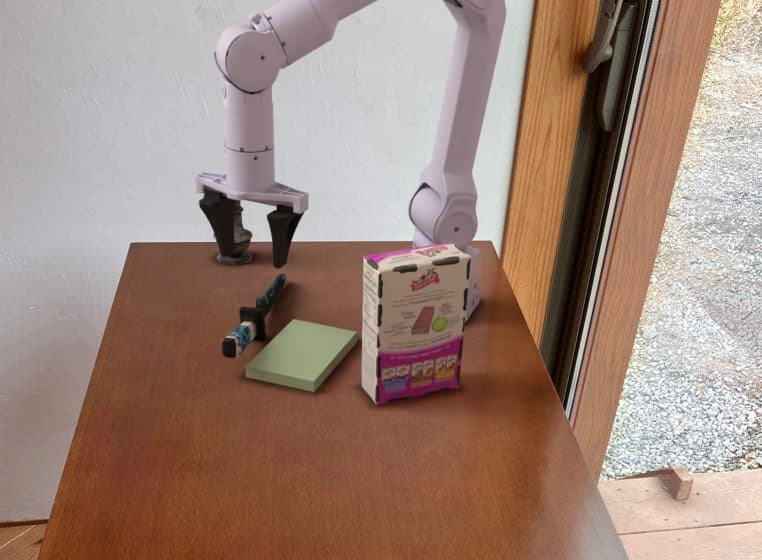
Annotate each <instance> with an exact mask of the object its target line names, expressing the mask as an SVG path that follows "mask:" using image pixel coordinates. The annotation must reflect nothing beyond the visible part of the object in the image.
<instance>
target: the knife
mask: <svg viewBox="0 0 762 560" xmlns="http://www.w3.org/2000/svg"><path fill="white" fill-rule="evenodd" d="M286 280H287V275H286V274H285V273H280V274H278V275H277V276H276V277H275V279H274V280H273V282H272V284H270V286H269V288H268V289H267V290H266V292H265V293H264V294H263V295H262V296H261V297H256V299H255V303H256V305H255V307H252V306H240V307H239V310H238V311H239V312H238V315H239V320H240V324H239V325H238V326H237V327H236V328H234V329H233V330H232V331H231V332H230V333H229V334H228V335H226V336H225V337H224V339H223V341H222V342H221V354H222V356H223V357H224V358H226V359H227V360H235V361H236V360H237V359H239V357H241V355H242V354H243V352H245V350H246V348H247V347H248V346H249V345H250V343H252V341H253V340H254V341H255V340H256V341H265V340H266V339H267V328H266V319H265V318H267V315H268V314H269V312H270V311H271V310H272V308H273V307H274V305H275V303H276V302H277V300H278V298H279V297H280V295H281V292H282V290H283V288H284V287H285V283H286Z"/></svg>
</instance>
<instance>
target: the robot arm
mask: <svg viewBox="0 0 762 560" xmlns="http://www.w3.org/2000/svg"><path fill="white" fill-rule="evenodd" d="M376 2H378V0H281V1H279V2H277V3H276V4H274V5H272V6H271V7H269V8H268V9H266V10H264V11H263V12H261V13H258V12H257V11H253V12H252V13H250V14H249V15H248V16H247V19H248V20H249V25H248V24H246V23H245V24H244V23H243V24H240V23H236V24H233V25H230V26H229V27H227V28H225V29H224V30H223V32H222V33H221V34H220V38H219V39H217V43H216V45H215V46H216V48H215V50H214V51H213V59H214V62H215V65H216V66H217V69H218V70H219V72H220V73H221V74H222V75H223V76H222V77H221V81H222V82H221V84H222V88H221V89H222V91H221V92H222V103H221V107H222V120H223V121H222V123H223V124H222V125H223V143H224V160H225V174H223V173H213V172H206V171H203V172H201V173H199V174H197V175H195V176H194V181H195V193H197V194H203V195H202V197H203V198H201V199H199V200H198V206H199V208H200V210H201V211H202V212H203V214H204V216H205V217H206V220H207V221H208V223H209V225H210V227H211V229H212V231H213V235H214V234H215V237H216V239H215V241H216V240H217V243H218V245H217V247H218V246H219V247H218V249H219V252H220V253H221V255H222V256H225V257H226V256H227V255H229V254H231V253H232V252H234V246H235V237H234V214H235V205H236V200H239V201H240V202H241V201H247V202H251V203H258V204H262V205H266V206H270V207H272V206H273V207H276V209H274V210H272V211H271V212H269V213H267V214H266V220H267V223H268V226H269V231H270V236H271V242H272V245H271V246H272V263H273V268H274V269H277V270H280V269H282V267H284V266H285V265H287V263H288V257H289V253H290V249H291V244H292V241H293V239H294V236H295V233H296V231H297V228H298V226H299V224H300V223H301V220H302V218H303V216H304V215H305V212H306V211H308V210H309V200H310V199H309V196H310V195H309V192H307V191H303V190H299V189H296V188H293V187H291V186H288V185H286V184H283V183H280V182H278V181H276V173H275V171H276V170H275V168H276V167H275V127H274V125H275V123H274V102H273V85H274V83H275V82H276V80H277V78H278V76H279V73H280V70H284V69H287V67H289V66H291V65H292V64H295V63H296V62H297V61H299V60H301V59H303V58H305V56H307V55H309V54H311V53H313V52H314V51H316V50H318V49H319V48H321V47H322V46H324V45H326V44H327V43H329V42H330V41H332V40H333V38H334V36H335V32H336V30H337V27H338V24H339V22H340V21H342V20H344V19H346V18H348V17H350V16H351V15H353V14H355V13H357V12H359V11H361V10H363V9H365V8H367V7H368V6H371V5H373V3H376ZM442 2H443V4H444V5H445V7H446V8H447V10H448V11H449V13H450V15H451V16H452V17H453V19H454V20H455V22H456V28H455V35H454V40H453V45H452V49H451V50H452V51H451V55H450V61H449V65H448V72H447V76H446V80H445V81H446V82H445V87H444V91H443V97H442V103H441V106H440V113H439V118H438V123H437V129H436V132H435V138H434V144H433V149H432V154H431V159H430V162H429V164H428V165H427V166H425V168H423V170H422V171H421V172H420V174H419V180H418V183H417V185H416V187H415V189H414V191H413V192H412V194H411V195H410V197H409V200H408V202H407V203H408V204H407V215H408V219H409V220H410V222H411V223H412V225H413V226H414V234H413V237H412V248H417V247H423V246H430V245H437V244H443V243H449V242H452V243H454V244H456V247H459V248H460V249H462V250H463V251H464V252H466V253H467V254H469V255H470V256H471V263H470V275H469V285H468V296H467V306H466V317H465V323H466V322H467V321H468V320H469V318H470V316H471V315H472V313H473V312H474V311H475V309H476V308H477V306H478V305H479V303H480V290H481V281H482V275H483V274H482V273H483V266H484V252H483V250H481V249H478V248H475V247H473V246H470V244H471V243H472V241H473V240H474V239H475V237H476V235H477V232H478V227H479V226H478V225H479V220H478V216H477V202H478V198H479V195H478V191H477V190H478V189H477V187H476V184H475V180H474V176H473V169H474V166H475V161H476V155H477V151H478V146H479V143H480V139H481V133H482V128H483V124H484V119H485V116H486V115H485V114H486V110H487V105H488V101H489V97H490V93H491V88H492V83H493V79H494V74H495V69H496V66H497V61H498V57H499V52H500V47H501V43H502V38H503V33H504V29H505V24H506V20H507V6H506V1H505V0H442ZM217 243H216V244H217Z"/></svg>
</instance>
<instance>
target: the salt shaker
mask: <svg viewBox="0 0 762 560" xmlns="http://www.w3.org/2000/svg"><path fill="white" fill-rule="evenodd" d="M241 205H242V204H241V200H240V201H239V200H236V205H235V214H234V237H235V246H234V252H232V253H231V254H229V255H227V256H226V257H225V256H222V255H221V252H220V253H219V254H218V255H217V257H216V259H217V261H218V262H219V263H222V264H224V265H228V266H229V265H231V266H239V265H244V264H247V263H249V262H250V261H251V260H252V259H253V256H252V254H251V253H249V252H248V251H247V250H248V249H249V248H250V245H251V242H252V238H253V236H254V235H253V232H252V231H250V230H249V229H246V228H245V227H244V224H243V213H242V212H244V207H243V206H241ZM212 236H213V239H215V244H216V245H217V247H218V248H219V246H218V243H217V240H216V237H215V234H214V233H213V235H212Z"/></svg>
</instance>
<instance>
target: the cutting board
mask: <svg viewBox="0 0 762 560" xmlns="http://www.w3.org/2000/svg"><path fill="white" fill-rule="evenodd" d="M357 341H358V331H356V330H350V329H345V328H340V327H335V326H331V325H326V324H320V323H315V322H310V321H305V320H301V319H296V318H293V319H292V320H291V321H290V322H289V323H287V325H286V326H285V327H284V328H283V329H281V331H280V332H279V333H277V334H276V335H275V337H273V338H272V339H271V340H270V341H269V343H268V344H267V345H265V346H264V348H262V349H261V350H260V351H259V352H258V353H257V354H256V355H255V356H254V357H253V358H252V359H251V360H250V361H249V362H248V363H247V364H246V365H245V377H246V378H249V379H253V380H256V381H257V380H258V381H260V382H261V381H262V382H265V383H266V382H267V383H271V384H275V385H279V386H284V387H288V388H292V389H298V390H302V391H306V392H311V393H315V392H316V391H317V390H318V389H319V387H320V386H321V385H322V384H323V383H324V382H325V380H326V379H327V378H328V377H329V376H330V374H331V373H332V372H333V371H334V370H335V369H336V368H337V366H338V365H339V364H340V363H341V362H342V360H343V359H344V358H345V357H346V356H347V355H348V353H349V352H350V351H351V350H352V349H353V348H354V346H355V345H356V344H357V343H358V342H357Z"/></svg>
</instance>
